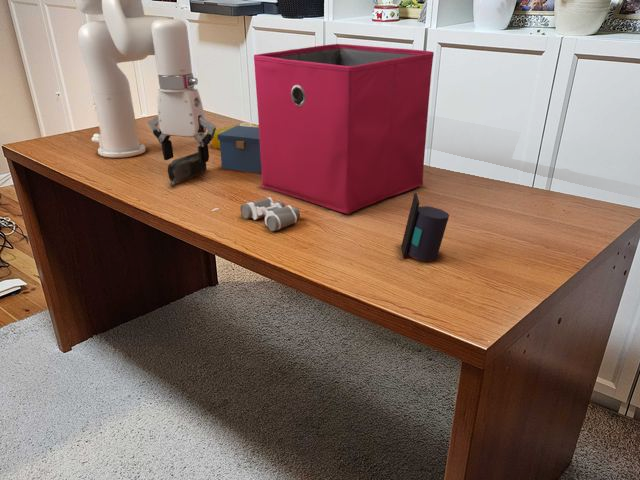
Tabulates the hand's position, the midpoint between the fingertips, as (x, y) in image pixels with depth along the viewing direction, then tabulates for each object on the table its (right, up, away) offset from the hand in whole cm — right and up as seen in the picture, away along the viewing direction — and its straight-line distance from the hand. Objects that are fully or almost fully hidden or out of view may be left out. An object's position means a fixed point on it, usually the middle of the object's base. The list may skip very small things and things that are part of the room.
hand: (186, 160), depth 141 cm
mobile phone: (0, -4, +3) cm, 5 cm away
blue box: (+14, +2, +12) cm, 19 cm away
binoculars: (+22, -19, -20) cm, 36 cm away
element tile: (+11, +13, +28) cm, 33 cm away
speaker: (+50, -28, -34) cm, 67 cm away
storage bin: (+37, -7, -2) cm, 38 cm away
